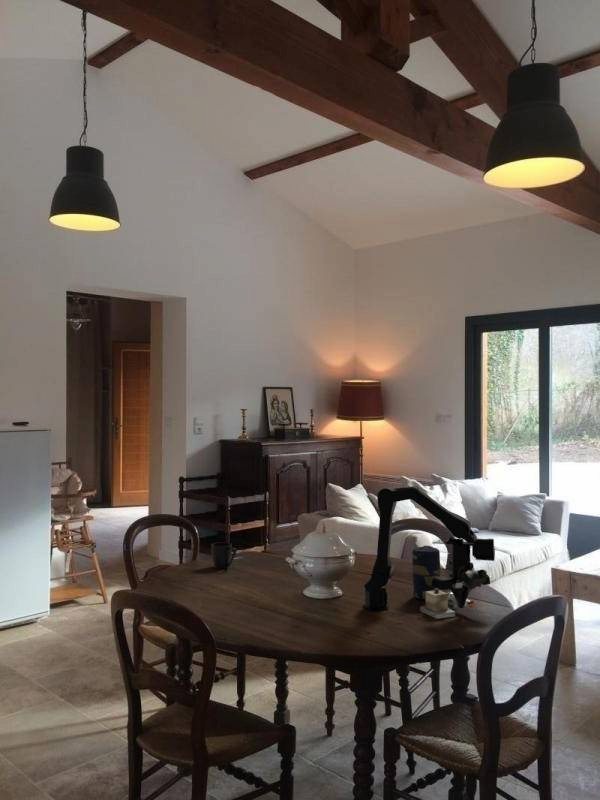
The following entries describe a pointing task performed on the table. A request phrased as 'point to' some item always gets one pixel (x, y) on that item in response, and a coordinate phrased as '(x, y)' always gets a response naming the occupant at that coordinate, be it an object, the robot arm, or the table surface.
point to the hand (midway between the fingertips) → (461, 608)
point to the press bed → (438, 613)
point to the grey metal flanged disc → (451, 604)
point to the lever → (468, 602)
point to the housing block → (436, 600)
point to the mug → (222, 554)
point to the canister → (425, 569)
